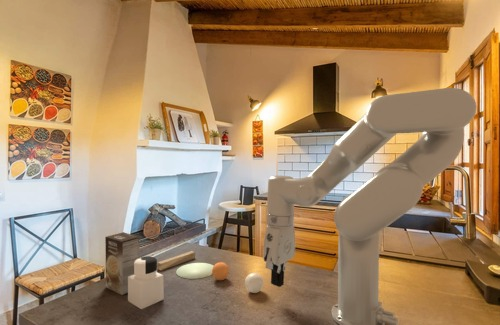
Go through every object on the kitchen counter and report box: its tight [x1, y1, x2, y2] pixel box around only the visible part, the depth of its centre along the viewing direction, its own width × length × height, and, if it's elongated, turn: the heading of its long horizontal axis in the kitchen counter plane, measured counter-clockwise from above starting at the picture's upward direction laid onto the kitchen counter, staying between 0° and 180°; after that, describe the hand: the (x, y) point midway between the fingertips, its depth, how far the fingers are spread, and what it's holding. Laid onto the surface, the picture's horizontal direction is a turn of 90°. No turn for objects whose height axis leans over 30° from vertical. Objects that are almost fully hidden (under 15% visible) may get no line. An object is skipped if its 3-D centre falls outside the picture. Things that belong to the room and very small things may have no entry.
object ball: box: [212, 261, 230, 281], centre depth 95 cm, size 6×6×6 cm
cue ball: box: [244, 272, 264, 294], centre depth 86 cm, size 6×6×6 cm
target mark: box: [176, 262, 214, 280], centre depth 102 cm, size 14×14×1 cm
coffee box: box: [105, 231, 140, 296], centre depth 89 cm, size 9×6×16 cm
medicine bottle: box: [127, 255, 165, 310], centre depth 81 cm, size 7×7×12 cm
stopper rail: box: [157, 250, 196, 271], centre depth 109 cm, size 2×16×2 cm, turn 142°
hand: (277, 284), depth 80 cm, fingers closed
